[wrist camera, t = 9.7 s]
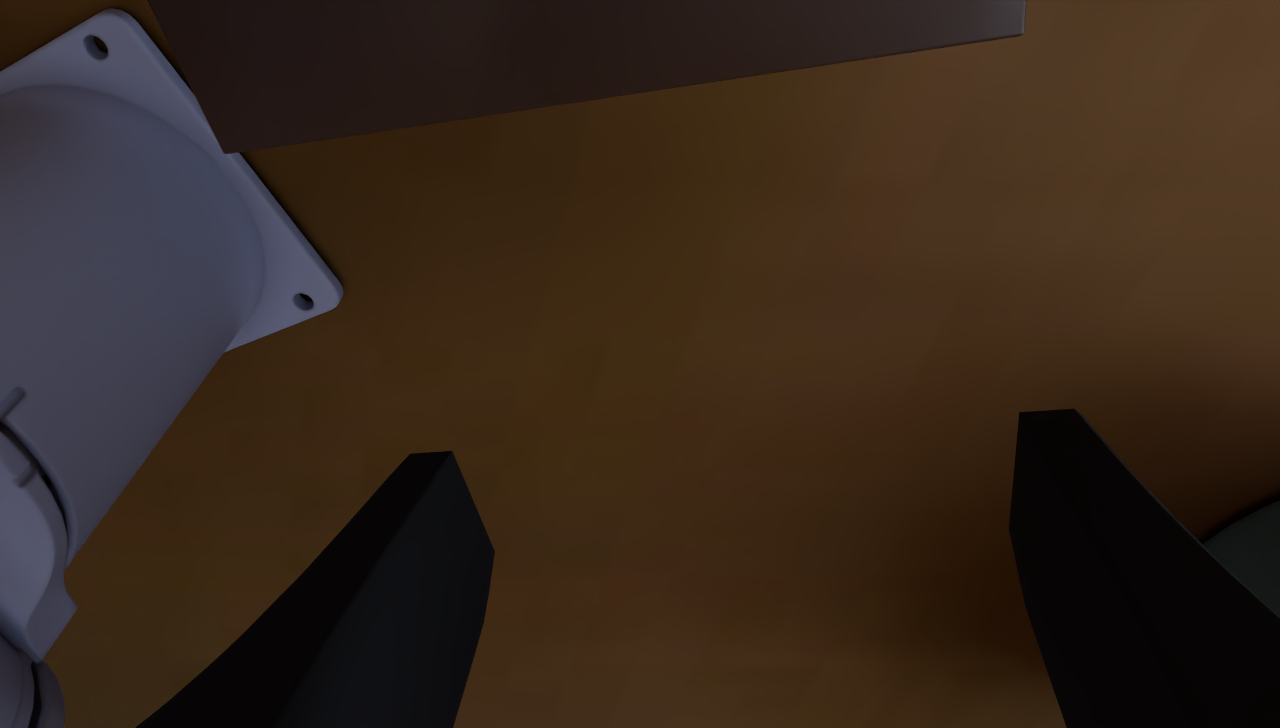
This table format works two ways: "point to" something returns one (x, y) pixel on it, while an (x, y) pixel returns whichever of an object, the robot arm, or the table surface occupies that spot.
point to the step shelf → (516, 53)
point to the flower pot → (1253, 552)
